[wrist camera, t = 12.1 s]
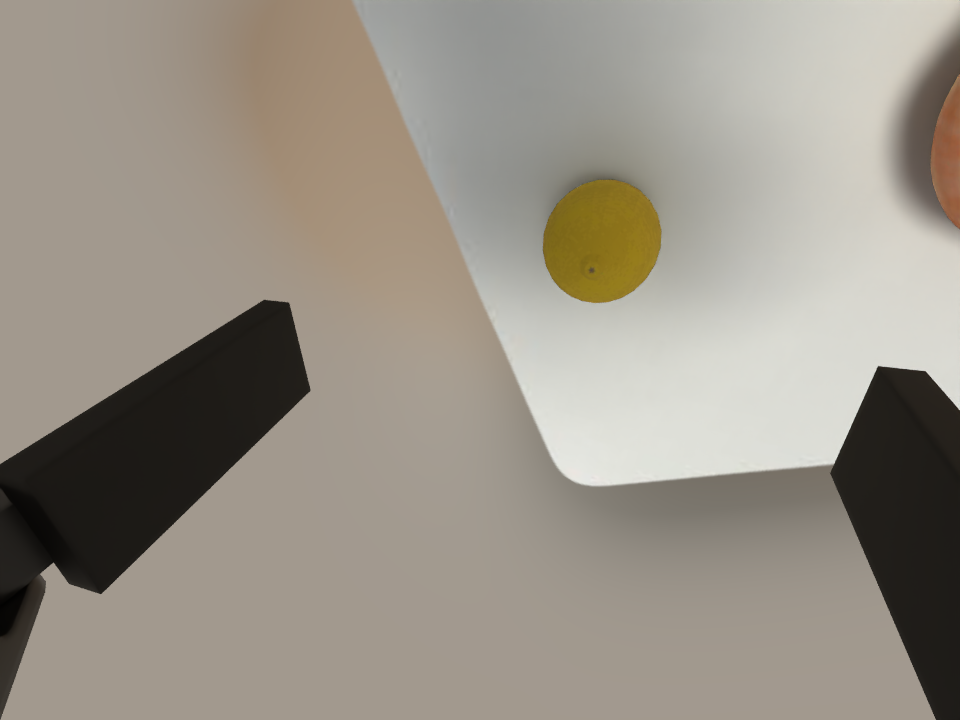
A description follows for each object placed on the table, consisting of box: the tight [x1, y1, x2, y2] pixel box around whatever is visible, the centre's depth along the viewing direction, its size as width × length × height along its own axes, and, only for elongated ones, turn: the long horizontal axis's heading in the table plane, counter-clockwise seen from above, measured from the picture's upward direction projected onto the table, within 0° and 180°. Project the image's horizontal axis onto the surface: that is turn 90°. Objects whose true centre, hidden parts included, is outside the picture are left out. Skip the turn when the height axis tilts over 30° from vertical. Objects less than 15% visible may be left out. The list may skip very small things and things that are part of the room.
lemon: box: [543, 180, 661, 303], centre depth 24 cm, size 6×6×8 cm
